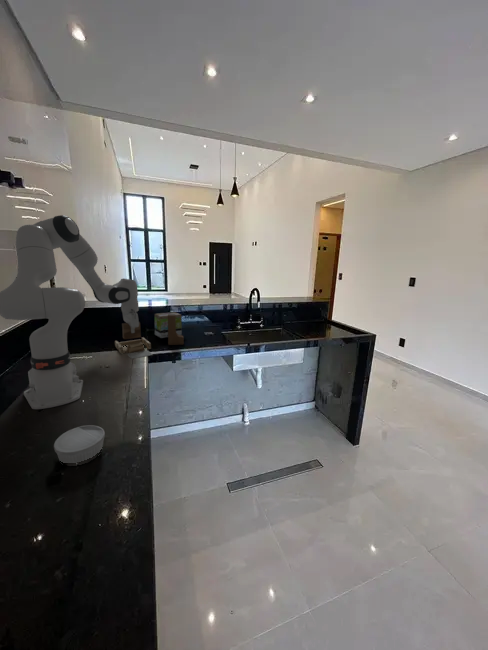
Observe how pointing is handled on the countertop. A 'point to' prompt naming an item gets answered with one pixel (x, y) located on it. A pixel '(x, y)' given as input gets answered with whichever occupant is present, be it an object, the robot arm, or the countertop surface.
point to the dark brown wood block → (127, 331)
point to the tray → (124, 349)
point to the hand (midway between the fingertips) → (131, 331)
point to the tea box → (166, 324)
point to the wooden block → (173, 332)
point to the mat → (139, 354)
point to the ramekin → (79, 443)
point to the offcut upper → (135, 344)
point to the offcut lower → (135, 349)
